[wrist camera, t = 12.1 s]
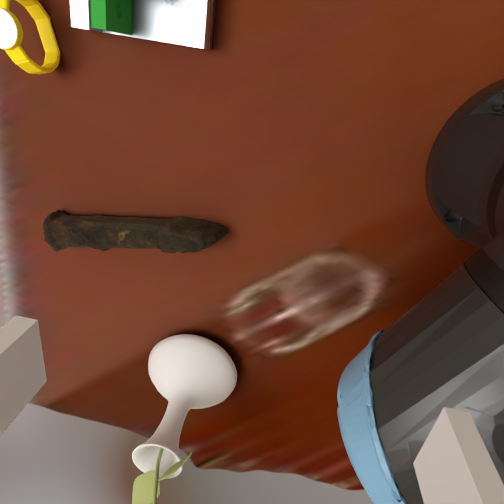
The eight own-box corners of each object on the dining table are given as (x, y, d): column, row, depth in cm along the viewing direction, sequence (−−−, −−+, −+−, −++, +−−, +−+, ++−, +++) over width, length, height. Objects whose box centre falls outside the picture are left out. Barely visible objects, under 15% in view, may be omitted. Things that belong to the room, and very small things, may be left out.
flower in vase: (192, 405, 51) (103, 659, 29) (136, 349, 48) (-12, 587, 26) (267, 369, 47) (230, 640, 24) (210, 305, 44) (108, 549, 21)
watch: (25, 2, 33) (-33, -18, 27) (53, -4, 32) (0, -26, 27) (47, 77, 35) (-3, 72, 29) (73, 73, 34) (28, 67, 29)
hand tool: (67, 239, 43) (42, 257, 39) (60, 206, 41) (32, 222, 37) (228, 250, 40) (219, 270, 36) (228, 215, 39) (218, 233, 35)
